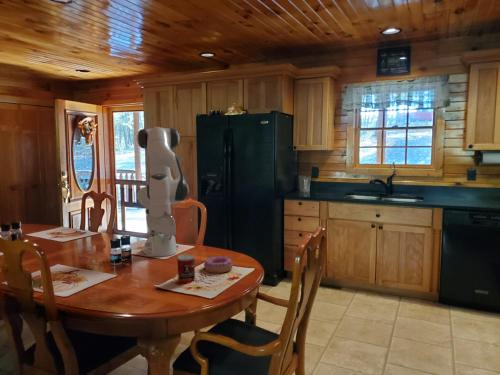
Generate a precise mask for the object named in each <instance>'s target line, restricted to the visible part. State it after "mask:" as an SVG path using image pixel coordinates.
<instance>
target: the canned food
mask: <svg viewBox="0 0 500 375" xmlns="http://www.w3.org/2000/svg"><path fill="white" fill-rule="evenodd" d="M195 268H196V265H195V255H193V254H189V253H187V254H181V255H178V256H177V279H178V282H179V281H180V282H179V283H181V282H183V283H182V284H188V283H187V282H189V283H192V282H194V281H195V279H196V269H195Z"/></svg>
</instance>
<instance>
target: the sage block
mask: <svg viewBox="0 0 500 375" xmlns="http://www.w3.org/2000/svg"><path fill="white" fill-rule="evenodd" d="M163 238H164V236H163V234H159V235H154V241H155V246H157V247H159V248H160V247H165V246H169V237H168V243H166V244H164V243H163V241H162V239H163Z"/></svg>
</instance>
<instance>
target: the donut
mask: <svg viewBox="0 0 500 375" xmlns="http://www.w3.org/2000/svg"><path fill="white" fill-rule="evenodd" d="M233 263H234V262H233V259H232V258H231V257H228V256H224V255H221V256H219V255H217V256H211V257H208V258H206V259H205V260H204V263H203V265H204V267H203V268H204V269H205V270H206V271H207V272H208V273H211V274H212V273H213V274H222V273H226V272H230V271H231V270H232V269H233V266H234V264H233Z"/></svg>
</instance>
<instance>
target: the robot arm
mask: <svg viewBox="0 0 500 375" xmlns="http://www.w3.org/2000/svg"><path fill="white" fill-rule="evenodd" d="M136 141H137V145H138V146H139V147H140V148H141V149H143V150H145V149H146V152H147V156H148V160H149V161H148V162H149V163H148V164H149V174H150V175H149V176H150V177H149V183H148V184H147V185H146V186H143V187H140V188H139V189H138V191H137V196H136V198H137V201H138V202H139V204H140V205H142V206H143V207H144V208H146V209H145V214H146V226H147V228H148V230H150V232H151V233H150V236H149V237H148V238H147V240H145V242H144V247H143V248H141V251H142V253H144V254H145V255H146V256H147V257H167V256H171V255H174V254H176V253H177V251H179V248H178V247H177V242H176V236H175V235H176V233H177V228H176V221H175V218H174V217H173V215H172V208H171V205H176V204H181V203H182V202H183V201H184V200H186V199H187V197H188V196H189V190H190V189H189V185H188V183H187V180H186V179H185V174H184V172H183V168H182V165H181V163H180V158H179V157H178V154H177V153H175V152H173V149H175V148H176V147H178V146H179V143H180V134H179V132H178V130H177V129H176V128H173V127H171V128H167V127H166V128H165V127H160V126H155V127H152V128H143V129H139V130H138V133H137V134H136ZM171 171H172V172H173V175H174V178H173V175H172V172H171ZM159 234H163V236H164V238H163V239H162V241H163V243H164V244H166V243H168V237H169V246H165V247H160V248H159V247H157V246H155V241H154V235H159Z"/></svg>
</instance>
